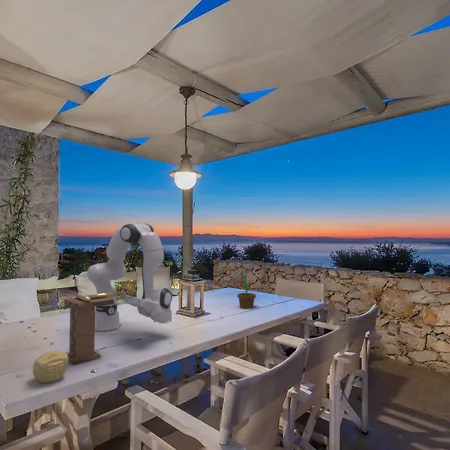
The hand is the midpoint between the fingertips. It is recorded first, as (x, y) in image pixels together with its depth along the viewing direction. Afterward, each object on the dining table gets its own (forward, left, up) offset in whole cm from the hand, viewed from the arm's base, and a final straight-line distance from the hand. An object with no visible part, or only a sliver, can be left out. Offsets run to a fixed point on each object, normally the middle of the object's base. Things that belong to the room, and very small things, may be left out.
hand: (125, 296), depth 169 cm
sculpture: (+14, -40, -25) cm, 49 cm away
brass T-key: (0, -12, +1) cm, 12 cm away
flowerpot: (-18, +113, -25) cm, 117 cm away
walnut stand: (0, -19, -25) cm, 31 cm away
